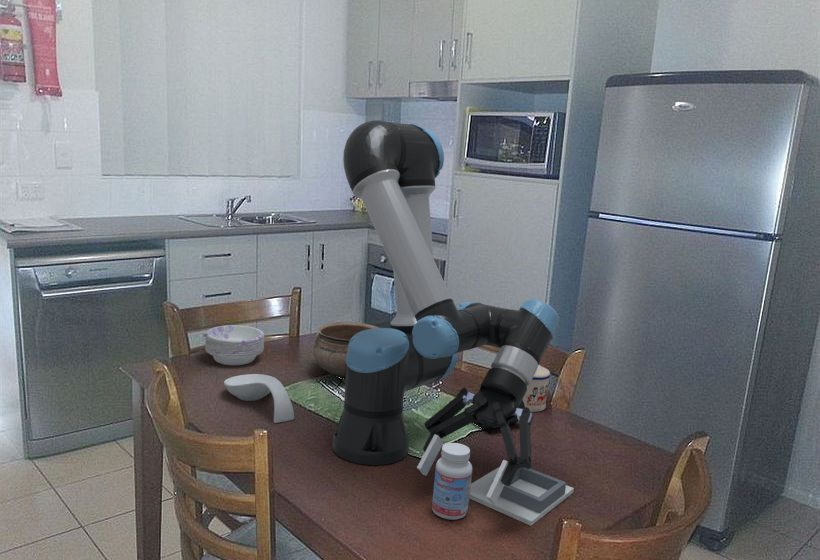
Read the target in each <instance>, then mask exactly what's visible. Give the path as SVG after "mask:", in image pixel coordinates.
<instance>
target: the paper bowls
mask: <svg viewBox="0 0 820 560" xmlns="http://www.w3.org/2000/svg"><path fill="white" fill-rule="evenodd" d="M204 343H205V352H206V353H207V354H209V355H211V356H212V357H213V359H214V361H215V362H217V363H219V364H221V365H224V366H244V365H247V364H249V363H252V362H254V360H255V359H256V357H257V356H259V355H260V354H262V353H263V352H264V349H265V348H264V347H265V333H264V331H262V330H261V329H259V328H256V327H254V326H253V327H252V326H249V325H238V324H233V325H231V324H230V325H221V326H219V325H218V326H216V327H215V326H214V327H212V328H209V329H208V330H206V333H205V342H204Z"/></svg>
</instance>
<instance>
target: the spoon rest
mask: <svg viewBox="0 0 820 560" xmlns="http://www.w3.org/2000/svg"><path fill="white" fill-rule="evenodd" d="M223 385H224V388H225V389H226V390H227V391H228V392H229V393H230V394H232V396H234V397H237V399H239V400H241V401H247V402H248V401H249V402H253V401H254V402H255V401H260V400H262V399H263V398H264V397H266V396H268V395H269V394H270V393H271V396H272V398H273V405H274V406H273V408H274V409H273V423H274V424H278V423H284V422H285V423H286V422H289V421H293V420H294V419H295V413H294V408H293V407H294V406H293V403H292V401H291V398H290V396H289V394H288V392H287V391H286V388H285V387H284V385H283V384H282V382H281V381H280V380H279V379H277V378H276V377H274V376H271V375H267V374H263V373H262V374H259V373H250V374H249V373H247V374H241V375H235V376H230V377H229V378H226V379H225V380H224V382H223Z"/></svg>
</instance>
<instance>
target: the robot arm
mask: <svg viewBox="0 0 820 560" xmlns="http://www.w3.org/2000/svg"><path fill="white" fill-rule="evenodd" d="M343 149H344V150H343V157H342V158H343V159H342V160H343V169H344V174H345V177H346V180H347V183H348V186H349V188H350V191H351V192H352V195H353V196H354V197H355V198H358V199H360V200H361V202H362V204H363V206H364V208H365V210H366V212H367V214H368V216H369V219H370V221H371V223H372V226H373V228H374V230H375V232H376V235H377V236H378V238H379V240H380V243H381V245H382V248H383V250H384V251H385V254H386V256H387V259H388V260H389V263H390V264H391V267H392V271H393V282H394V296H395V308H396V314H395V316H394V318H393V319H392V320H391V321H390V323H389V324H390V325H389V326H390V328H389V327H379V329H375V328H373V329H367V330H364V331H361V332H359V333H357V334H355V335H354V336H353V337H352V338H351V339H350V341H349V344H348V352H347V355H346V377H345V380H344V401H343V410H342V413H341V415H340V418H339V420H338V423H337V426H336V428H335V431H334V432H333V436H332V450H333V452H334V453H335V454H336V455H337V456H338V457H340V458H342V459H343V460H346V461H349V462H351V463H355V464H358V465H359V464H360V465H365V466H366V465H368V466H369V465H371V466H380V465H381V466H382V465H383V466H384V465H389V464H394V463H397V462H398V461H401V460H403V459H404V458H406V457H407V456H408V454H409V448H410V437H409V435H408V433H407V427H406V421H405V417H404V401H405V392H407V391H411V390H413V389H416V388H417V389H418V388H420V387H423V386H425V385H430V384H434V383H437V382H438V381H440V380H441V379H444V378H446V377H447V376H448V375H450V373H451V372H452V371H453V370H454V369H455V367H456V365H457V362H458V358H459V353H462V352H465V351H469V350H472V349H476V348H479V347H482V346H491V347H495V348H498V349H499V350H498V351H497V352H496V355H495V357H494V359H493V361H492V363H491V364H490V368H489V369H488V370H487V372H486V374H485V376H484V378H483V380H482V382H481V384H480V387H479V390H478V392H476V393H475V394H474V393H471V392H470V391H469V390H468V389H467V388H466V387H462V388H461V389H460V390H459V391H458V393H457V394H456V396H455V397H454V398H453V399H452V400H449V402H448V403H447V404H445V405H444V406H443V407H442V408H441V409H440V410H438V411H437V412H435V414H433V415H432V416H431V417H430V418H429V419H427V420H426V421H425V422H424V427H425V428H426V429H427V431H428V432H429V436H428V438H427V439H426V442H425V443H424V445H423V449H422V450H423V452H424V453H423V455H422V457H421V459H420V460H419V463H418V465H417V466H416V469H417V470H418V471H419V472H420V473H421V474H422V475H423V476H427V475H428V473H429V471H430V470H431V468H432V465H433V464H434V462H435V460H436V458H437V456H438V454H439V453H440V450H442V446H443V445H444V441H443V440H442V439H444V438H445V437H447V436H449V435H451V434H452V433H455V432H457V431H459V430H460V429H462V428H464V427H466V426H468V425H469V424H473V423H475V422H477V421H479V422H480V423H482V424H488V425H490V426H491V427H494V428H493V429H497V428H499V430H500V433H501V437H502V440H503V443H504V448H505V451H506V455H507V460H508V461H507V460H505V459H503V460H502V462H501V464H500V466H499V467H500V468H499V470H498V472H497V474H496V476H495V479H494V481H493V483H492V485H491V487H490V489H489V491H488V493H487V495H486V497H487V498H488V500H489V501H490V502H491V503H492V504H496V502H497V500H498V498H499V496H500V494H501V491H502V489H503V487H504V485H507V486H509V485H510V484H511V482H512V480H513V478H514V476H515V473H516V471H517V470H518V469H519V468H526V469H532V466H533V463H532V462H533V460H532V459H533V458H532V443H531V442H532V441H531V439H532V438H531V425H532V423H533V420H534V415H533V413H532V412H531V411H530V409H529V408H528V407H525V408H523V409H519V408H518V406H519V405H520V404H521V402H522V399H523V397H524V395H525V393H526V391H527V386H529V384H530V383H531V380H532V378H533V376H534V374H535V372H536V370H537V368H538V365H540V363H541V361H542V360H543V359H542V358H543V357H544V355H545V353H546V351H547V349H548V346H549V345H550V343H551V342H552V341H551V340H553V339H554V335H555V332H556V330H557V327H558V325H559V322H560V317H559V315H558V312H557V311H556V310H555V308H553V307H552V306H551V305H550V304H548V303H546V301H545V302H544V301H542V300H539V299H528V300H525V301H524V302H523V303H522V305H521V306H519V309H513V308H510V309H509V308H505V307H500V306H499V307H498V306H495V305H488V304H485V303H482V302H470V301H464V302H462V303H460V304H459V305H458V307H457V306H456V304H455V302H454V300H453V298H452V296H451V293H450V291H449V289H448V287H447V285H446V282H445V281H444V279H443V277H442V275H441V272H440V270H439V268H438V266H437V263H436V262H435V259H434V249H433V248H434V247H433V233H432V221H431V209H430V207H431V206H430V205H431V204H430V196H431V194H432V193H433V192H434V191H435V189H436V178H437V177H438V176H439V175H440V172H441V170H442V169H443V167H444V162H445V154H444V153H445V152H444V149H443V145H442V142H441V140H440V139H439V137H438V136H437V135H436V134H435V133H434V132H433V131H432V130H430V129H429V128H426V127H422V126H420V125H418V124H413V123H409V124H408V123H400V122H399V123H398V122H392V121H391V122H390V121H386V120H379V119H378V120H377V119H376V120H375V119H374V120H369V121H365V122H363V123H361V124H360V125H358V126H356V127H355V129H353V131H351V133H350V134H349V137H348V138H347V140H346V142H345V145H344V147H343ZM471 403H472V405H471ZM466 406H467V407H466ZM463 409H464V410H463ZM462 410H463V411H462ZM472 413H475V414H474V415H472ZM516 416H518V417H517V418H518V420H519V421H518V424H519V427H518V428H519V450H520V451H519V452H520V455H518V451H517V448H516V446H515V442H514V439H513V436H512V429H511V426H510V425H509V423H508V421H510V420H511V419H513V418H515V417H516Z"/></svg>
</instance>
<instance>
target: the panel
mask: <svg viewBox="0 0 820 560" xmlns="http://www.w3.org/2000/svg"><path fill="white" fill-rule="evenodd" d="M499 468H500V466H498V467H497V468H495V469H493V470H492V471H490V472H488V473H487V474H485V475H484V476H482V477H480V478H478V479H477V480H475V481H473V482H471V487H470V495H469V500H472V501H474V502H477V503H479V504H481V505H482V506H483V505H484V506H485V507H488V508H490V509H493V510H494V511H497V512H499V513H501V514H503V515H506V516H508V517H510V518H512V519H515V520H517V521H518V522H521V523H523V524H526V525H528V526H530V527H532V526H533V525H534V524H535V523H537V522H538V521H539V520H541V519H542V518H543V517H544V516H545V515H546V514H548V513H549V512H551V511H552V510H553V509H554V508H556V507H557V506H558V505H559V504H561V503H562V502H563V501H564V500H566V499H567V498H568V497H569V496H571V495H572V494H573V493H574V491H575V490H574V489H575V488H574V487H571V486H569V485H567V482H566V481H563V480H560V479H558V478H555V477H553V476H551V475H548V474H546V473H542V472H541V471H538V470H535V469H532V468H530V469H526V468H519V469H518V470H517V471H516V473H515V476H514V478H513V480H512V482H511V484H510V485H509V486H507V485H504V487H503V489H502V491H501V494H500V496H499V498H498V500H497V502H496V504H492V503H491V502H490V501H489V500H488V498H487V497H486V495H487V493H488V491H489V489H490V487H491V485H492V483H493V481H494V479H495V476H496V474H497V472H498V470H499Z"/></svg>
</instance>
